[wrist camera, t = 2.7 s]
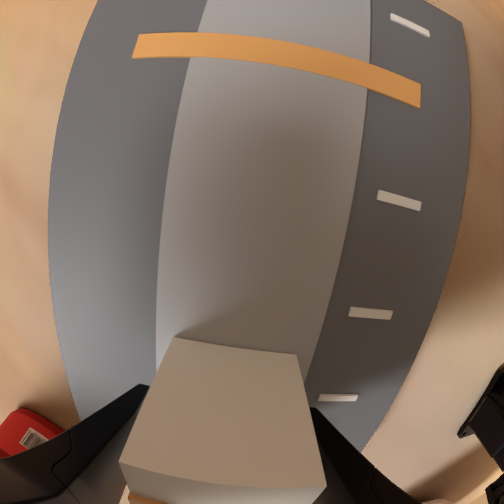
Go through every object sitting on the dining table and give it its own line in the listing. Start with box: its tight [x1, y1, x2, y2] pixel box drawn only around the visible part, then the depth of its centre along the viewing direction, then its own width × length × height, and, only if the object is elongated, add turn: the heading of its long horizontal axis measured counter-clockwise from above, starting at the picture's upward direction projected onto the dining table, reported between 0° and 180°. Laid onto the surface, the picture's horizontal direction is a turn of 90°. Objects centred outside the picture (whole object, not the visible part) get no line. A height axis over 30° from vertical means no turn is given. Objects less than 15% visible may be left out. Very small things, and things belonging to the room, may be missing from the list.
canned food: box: [0, 408, 64, 458], centre depth 8 cm, size 8×8×11 cm
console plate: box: [48, 0, 471, 453], centre depth 8 cm, size 14×22×4 cm, turn 171°
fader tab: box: [119, 337, 327, 504], centre depth 7 cm, size 4×4×5 cm
